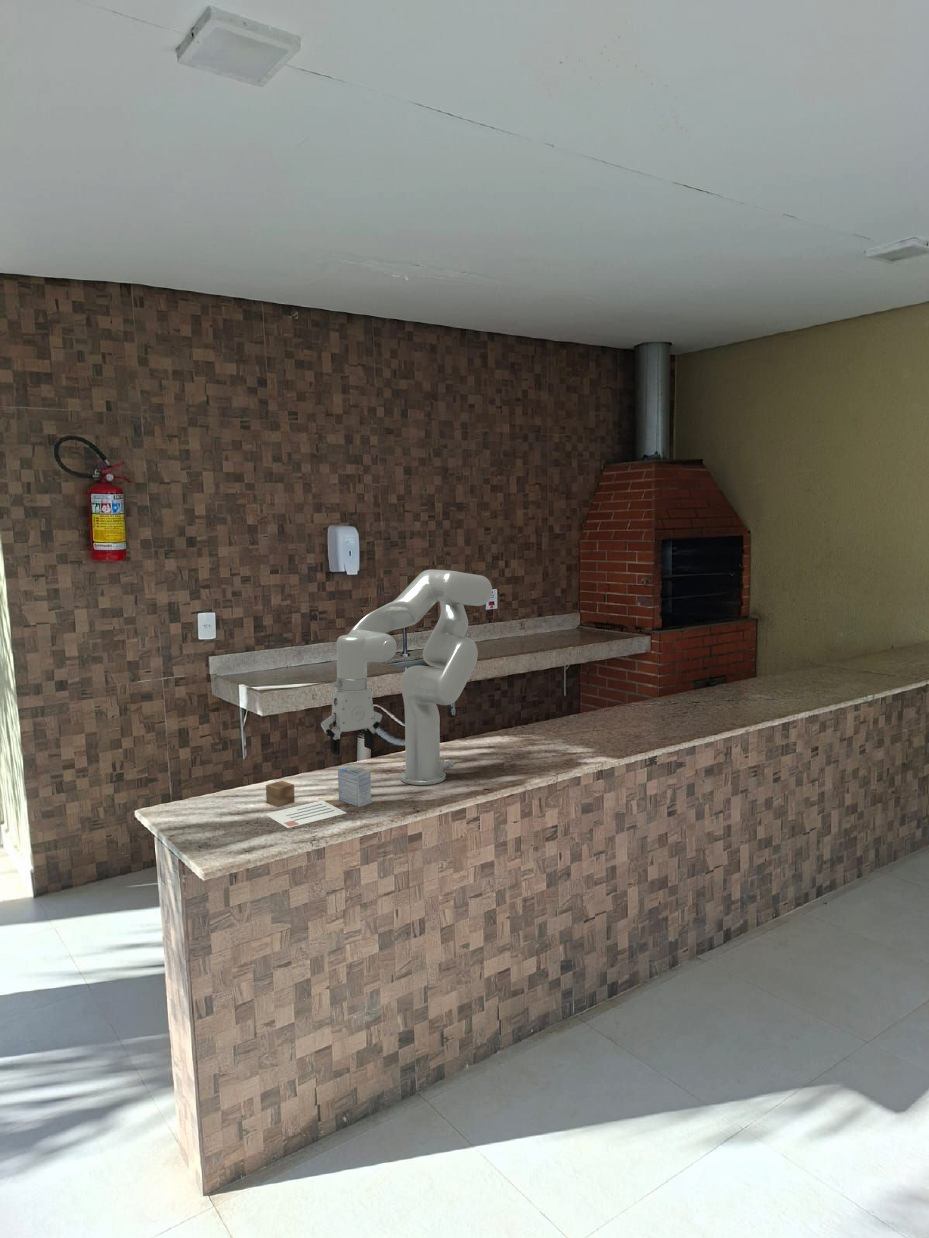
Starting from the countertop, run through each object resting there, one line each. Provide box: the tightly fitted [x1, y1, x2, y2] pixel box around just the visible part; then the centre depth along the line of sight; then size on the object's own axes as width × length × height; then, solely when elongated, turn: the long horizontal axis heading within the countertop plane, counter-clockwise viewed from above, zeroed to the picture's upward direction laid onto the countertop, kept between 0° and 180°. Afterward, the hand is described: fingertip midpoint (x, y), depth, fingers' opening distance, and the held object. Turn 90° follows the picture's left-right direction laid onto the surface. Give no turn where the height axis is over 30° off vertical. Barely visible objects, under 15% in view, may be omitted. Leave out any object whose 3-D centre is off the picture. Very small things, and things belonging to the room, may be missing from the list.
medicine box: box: [337, 765, 372, 808], centre depth 222 cm, size 8×4×9 cm, turn 48°
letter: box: [264, 799, 347, 829], centre depth 214 cm, size 16×12×1 cm
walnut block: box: [265, 780, 296, 808], centre depth 222 cm, size 5×5×5 cm
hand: (352, 750), depth 221 cm, fingers open, 9 cm apart
